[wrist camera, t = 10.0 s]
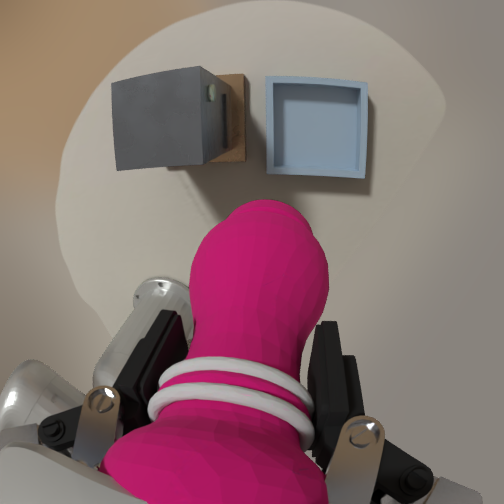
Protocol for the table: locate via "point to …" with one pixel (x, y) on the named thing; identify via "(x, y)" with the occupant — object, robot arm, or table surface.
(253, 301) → the pepper mill
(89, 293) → the table surface
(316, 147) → the parts tray
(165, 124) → the control unit
